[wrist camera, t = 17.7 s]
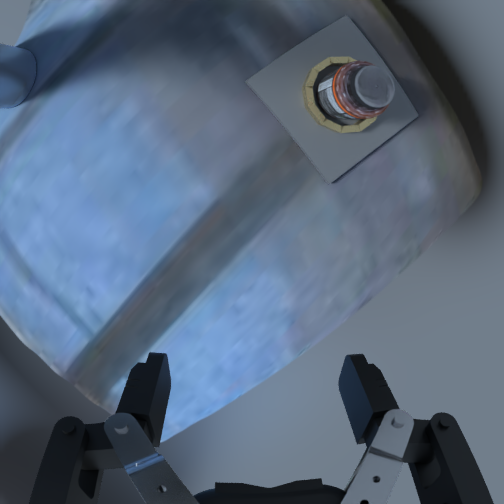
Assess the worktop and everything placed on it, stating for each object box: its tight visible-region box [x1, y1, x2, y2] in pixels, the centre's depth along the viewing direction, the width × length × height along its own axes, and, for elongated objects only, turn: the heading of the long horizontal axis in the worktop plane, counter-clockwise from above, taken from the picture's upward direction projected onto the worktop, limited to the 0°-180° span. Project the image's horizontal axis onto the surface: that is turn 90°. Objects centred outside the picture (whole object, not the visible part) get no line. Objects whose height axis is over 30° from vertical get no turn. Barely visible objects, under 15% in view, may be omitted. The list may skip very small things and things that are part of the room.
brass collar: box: [302, 56, 377, 133], centre depth 32 cm, size 9×9×2 cm
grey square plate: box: [245, 15, 419, 185], centre depth 34 cm, size 16×16×1 cm
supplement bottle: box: [317, 61, 395, 119], centre depth 28 cm, size 6×6×11 cm
